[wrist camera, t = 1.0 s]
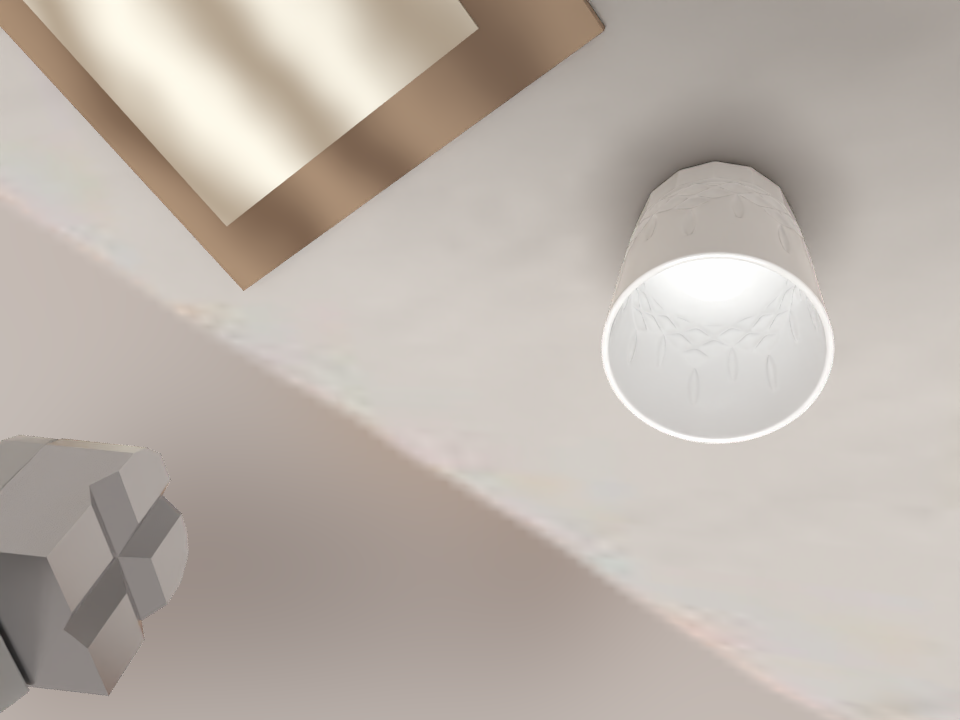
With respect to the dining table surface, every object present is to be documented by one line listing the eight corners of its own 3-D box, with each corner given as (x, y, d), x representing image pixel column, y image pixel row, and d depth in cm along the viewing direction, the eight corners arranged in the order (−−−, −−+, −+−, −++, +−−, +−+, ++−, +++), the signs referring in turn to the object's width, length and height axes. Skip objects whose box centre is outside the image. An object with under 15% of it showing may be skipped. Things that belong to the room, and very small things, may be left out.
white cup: (803, 310, 41) (826, 447, 33) (627, 312, 43) (607, 442, 35) (814, 141, 37) (843, 249, 29) (619, 151, 39) (594, 255, 31)
